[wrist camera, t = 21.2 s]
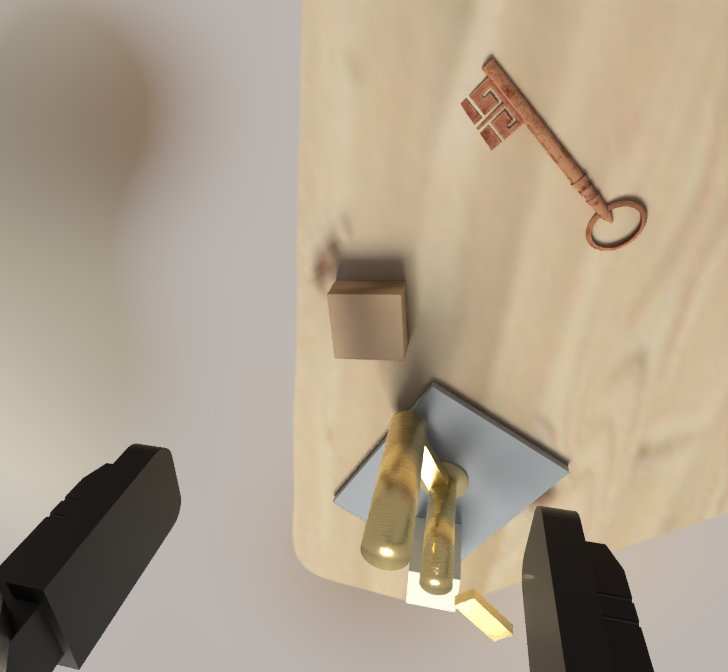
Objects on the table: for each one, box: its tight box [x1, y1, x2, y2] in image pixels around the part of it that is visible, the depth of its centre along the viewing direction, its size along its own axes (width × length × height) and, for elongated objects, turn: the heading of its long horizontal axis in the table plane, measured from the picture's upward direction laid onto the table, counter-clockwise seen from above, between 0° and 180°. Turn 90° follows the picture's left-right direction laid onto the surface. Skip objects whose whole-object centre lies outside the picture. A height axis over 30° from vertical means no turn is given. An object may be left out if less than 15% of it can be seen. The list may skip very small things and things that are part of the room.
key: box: [461, 59, 647, 251], centre depth 33 cm, size 6×1×15 cm
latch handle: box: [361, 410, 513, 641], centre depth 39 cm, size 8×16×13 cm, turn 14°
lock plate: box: [333, 382, 569, 612], centre depth 44 cm, size 14×17×7 cm
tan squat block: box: [327, 280, 408, 361], centre depth 39 cm, size 6×6×3 cm
